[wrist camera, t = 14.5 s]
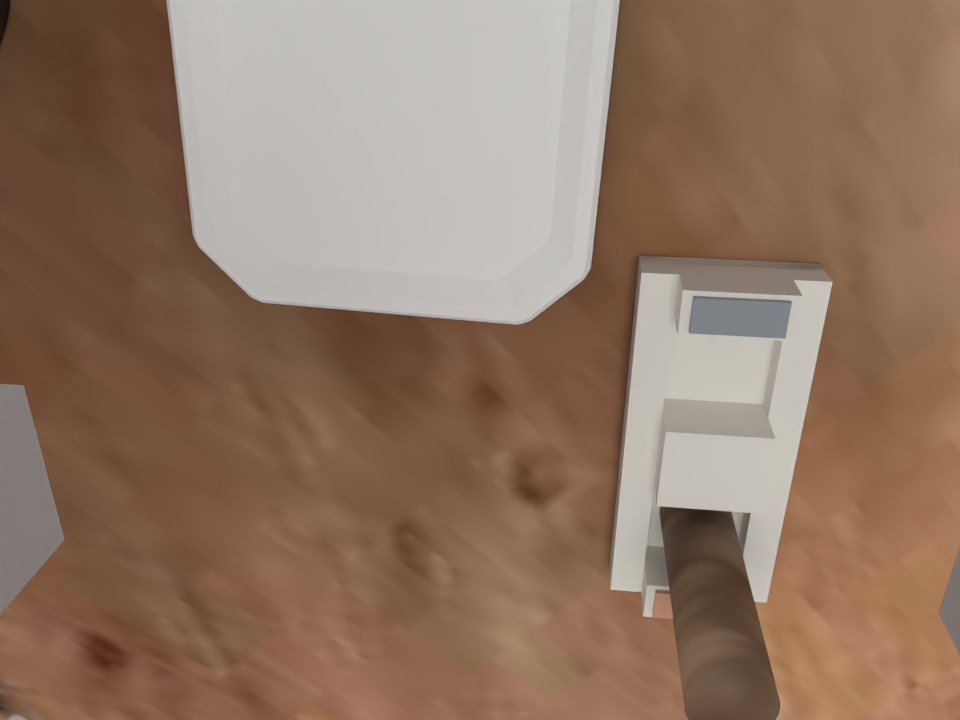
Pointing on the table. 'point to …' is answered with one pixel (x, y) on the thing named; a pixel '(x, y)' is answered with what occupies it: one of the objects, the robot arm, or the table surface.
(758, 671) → the dowel
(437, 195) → the plate
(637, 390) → the socket block
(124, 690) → the table surface
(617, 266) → the table surface
